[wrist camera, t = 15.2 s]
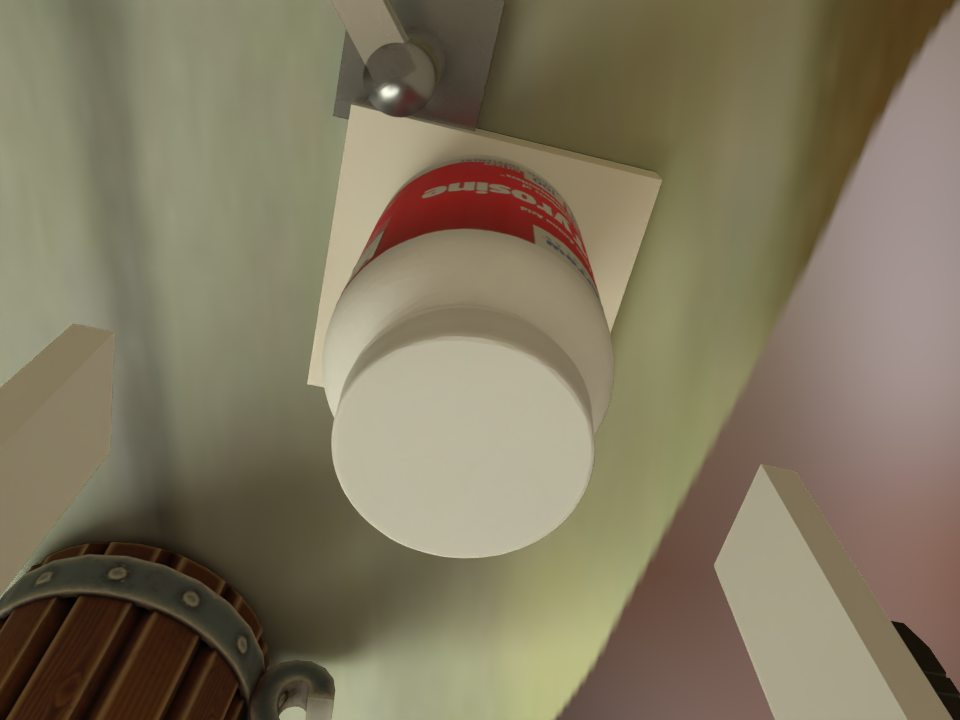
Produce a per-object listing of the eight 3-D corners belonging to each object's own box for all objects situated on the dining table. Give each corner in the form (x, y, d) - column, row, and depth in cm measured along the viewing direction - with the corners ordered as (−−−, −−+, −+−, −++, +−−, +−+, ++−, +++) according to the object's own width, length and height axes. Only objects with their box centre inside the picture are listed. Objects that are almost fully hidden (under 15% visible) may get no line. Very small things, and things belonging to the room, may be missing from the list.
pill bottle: (621, 213, 23) (712, 397, 13) (518, 377, 26) (530, 636, 16) (430, 109, 22) (375, 225, 12) (341, 291, 25) (234, 512, 15)
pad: (313, 370, 27) (307, 384, 26) (356, 99, 23) (350, 104, 22) (571, 425, 28) (573, 441, 27) (655, 172, 24) (662, 180, 23)
